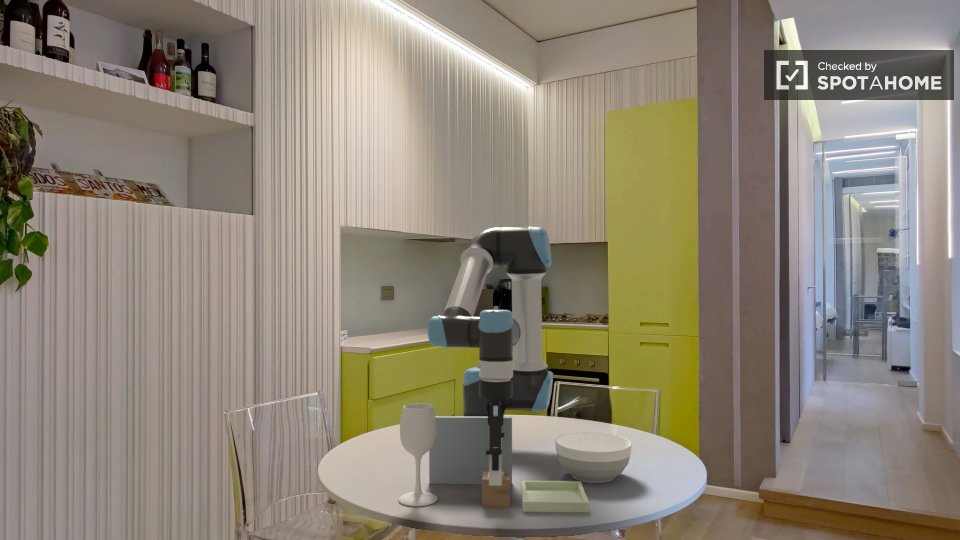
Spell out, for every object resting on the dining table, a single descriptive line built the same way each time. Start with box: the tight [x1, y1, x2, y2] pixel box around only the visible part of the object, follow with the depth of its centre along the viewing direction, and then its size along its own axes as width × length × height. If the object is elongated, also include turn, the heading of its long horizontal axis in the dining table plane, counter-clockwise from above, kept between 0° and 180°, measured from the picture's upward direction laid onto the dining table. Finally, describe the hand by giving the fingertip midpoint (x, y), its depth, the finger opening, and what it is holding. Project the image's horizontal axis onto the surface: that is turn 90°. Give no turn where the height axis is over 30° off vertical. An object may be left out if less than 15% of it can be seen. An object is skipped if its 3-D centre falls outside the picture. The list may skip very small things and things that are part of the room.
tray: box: [520, 480, 590, 514], centre depth 140 cm, size 14×14×2 cm
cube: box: [481, 471, 511, 508], centre depth 139 cm, size 6×6×6 cm
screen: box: [428, 415, 513, 486], centre depth 151 cm, size 20×2×16 cm, turn 88°
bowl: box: [554, 431, 632, 484], centre depth 157 cm, size 19×19×9 cm
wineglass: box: [398, 402, 438, 507], centre depth 140 cm, size 9×9×21 cm
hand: (495, 475), depth 138 cm, fingers open, 13 cm apart
